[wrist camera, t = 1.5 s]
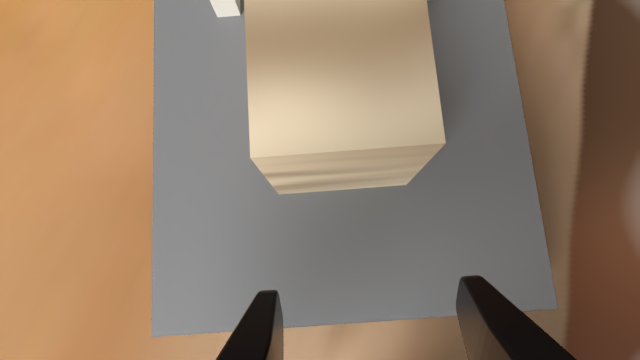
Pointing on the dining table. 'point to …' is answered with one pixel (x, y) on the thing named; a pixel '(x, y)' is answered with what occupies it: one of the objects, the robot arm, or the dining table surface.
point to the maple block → (341, 92)
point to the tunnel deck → (338, 205)
